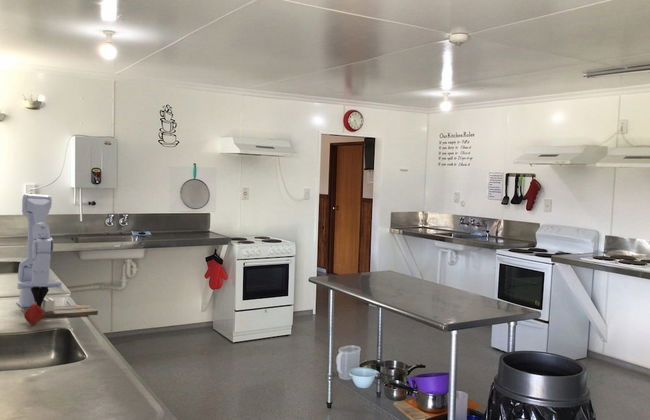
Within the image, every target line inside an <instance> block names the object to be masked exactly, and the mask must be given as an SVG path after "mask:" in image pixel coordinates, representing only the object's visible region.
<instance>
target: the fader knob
mask: <svg viewBox="0 0 650 420" xmlns="http://www.w3.org/2000/svg"><path fill="white" fill-rule="evenodd" d="M54 306H55V299H54V298H52V297H45V298H44V300H43V302H42V306H41V307H42V309H43V310H44V311H45V312H48V311H54Z"/></svg>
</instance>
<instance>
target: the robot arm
mask: <svg viewBox="0 0 650 420" xmlns="http://www.w3.org/2000/svg"><path fill="white" fill-rule="evenodd" d="M52 201H53V200H52V196H51V195H50V194H32V193H24V194H23V195H22V201H21V203H22V204H21V212H22V215H23V216H24V217H26V218H27V247H26V248H27V251H26V252H27V254H26V258H25V259H24V260H22V261H20V263H19V264H18V271H17V279H18V280H17V281H18V282H17V289H18V290H19V299H18V301H16V304H17V305H18V306H20V307H21V308H28V307H30V306H31V305H32V304H34V303H35V302H37V305H38V306H39V307H42V302H43V300H44V298H46V296H47V294H48V292H49V289H50V288H51V289H53V288H59V289H61V288H62V282H61V281H49V280H50V271H51V270H50V269H51V256H52V254H53V253H54V252H53V251H54V240H53V238H52V236H51V232H50V231H51V230H50V225H48V224H47V223H46V218H47V217H48V215H49V213H50V210H51V209H52V204H53V203H52Z"/></svg>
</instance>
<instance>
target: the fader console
mask: <svg viewBox="0 0 650 420" xmlns="http://www.w3.org/2000/svg"><path fill="white" fill-rule="evenodd" d="M41 309H42V306H41ZM42 310H43V309H42ZM97 315H99V310H97V309H96V308H94V306H91V305H89V304H75V305H74V304H73V305H58V306H57V305H56V306H55V305H54V311H48V312H45V311H44V310H43V318H42V319H41V320H44V319H57V318H58V317H60V318H70V317H71V318H72V317H85V316H87V317H88V316H97ZM58 319H59V318H58Z"/></svg>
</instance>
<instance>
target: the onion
mask: <svg viewBox="0 0 650 420" xmlns="http://www.w3.org/2000/svg"><path fill="white" fill-rule="evenodd" d="M41 307H42V306H41ZM41 307H39V306H38V305H37V302H35V303H34V304H32V305H31V306H30V307H27V308H26V310H25V312H24V314H23V315H24V319H25V321H26V322H27V323H29V324H30V325H32V326H35V325H37V324H38V323H39V322H40V321H41V320H43V319H42V318H43V310H42V309H41Z"/></svg>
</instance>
